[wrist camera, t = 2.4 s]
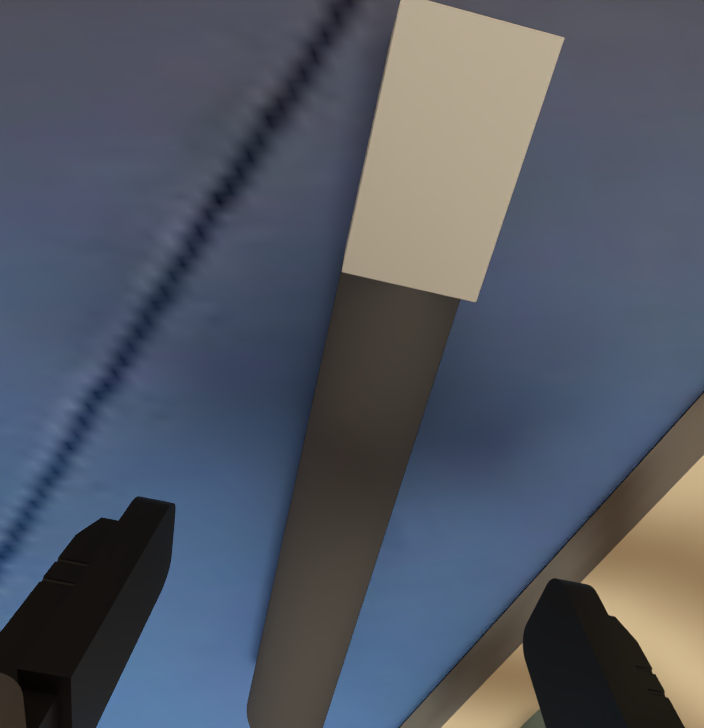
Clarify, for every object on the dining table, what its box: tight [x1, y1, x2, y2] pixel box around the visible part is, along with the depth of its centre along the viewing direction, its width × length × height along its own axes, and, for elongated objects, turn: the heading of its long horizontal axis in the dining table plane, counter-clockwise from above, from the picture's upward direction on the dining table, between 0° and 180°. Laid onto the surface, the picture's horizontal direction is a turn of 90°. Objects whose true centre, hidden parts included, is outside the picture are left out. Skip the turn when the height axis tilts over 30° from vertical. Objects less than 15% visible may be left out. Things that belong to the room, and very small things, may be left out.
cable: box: [247, 0, 564, 728], centre depth 14 cm, size 22×3×3 cm, turn 167°
